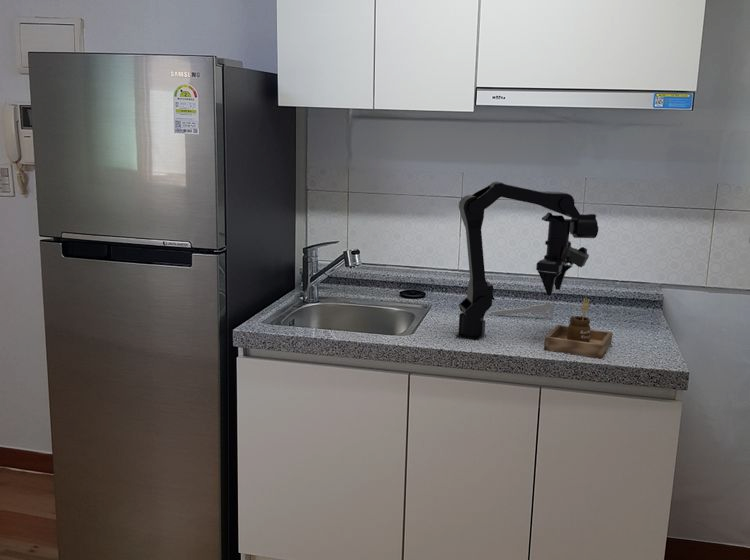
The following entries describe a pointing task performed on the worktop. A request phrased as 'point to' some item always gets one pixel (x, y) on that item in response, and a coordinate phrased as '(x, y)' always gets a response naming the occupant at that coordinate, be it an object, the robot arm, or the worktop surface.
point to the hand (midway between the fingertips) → (553, 292)
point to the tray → (578, 342)
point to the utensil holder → (579, 326)
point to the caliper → (527, 310)
